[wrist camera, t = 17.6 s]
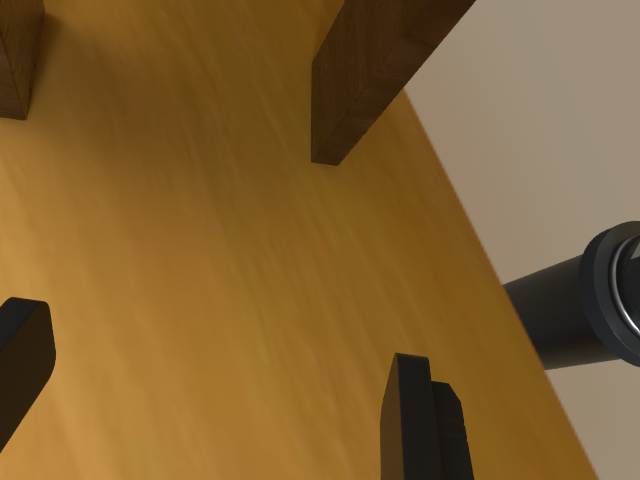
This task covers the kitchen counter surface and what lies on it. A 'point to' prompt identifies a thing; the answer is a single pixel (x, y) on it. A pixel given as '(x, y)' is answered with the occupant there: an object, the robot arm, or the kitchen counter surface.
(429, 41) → the dark brown arch frame
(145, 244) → the kitchen counter surface
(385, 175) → the kitchen counter surface
